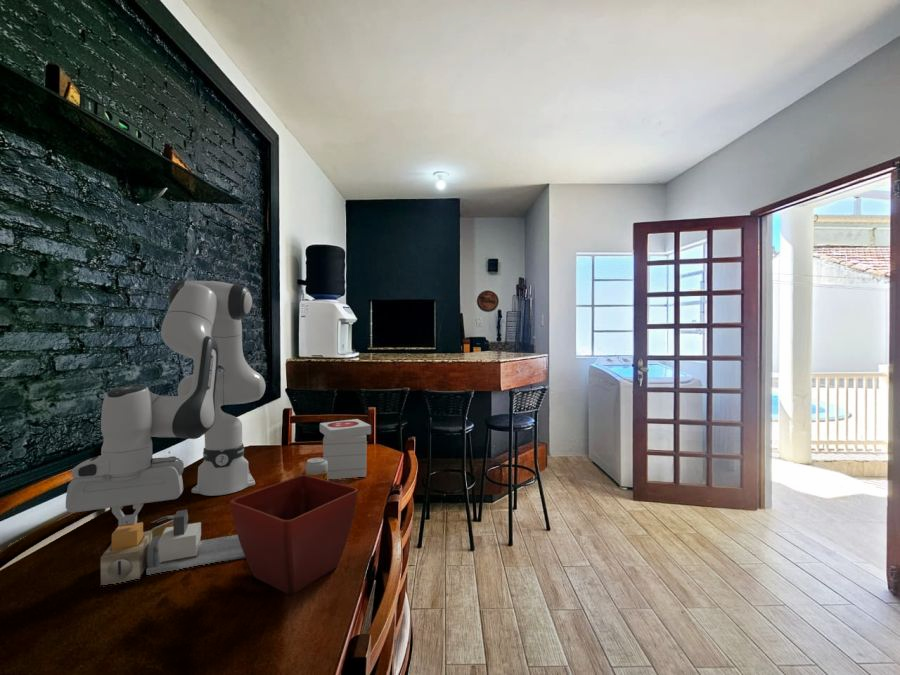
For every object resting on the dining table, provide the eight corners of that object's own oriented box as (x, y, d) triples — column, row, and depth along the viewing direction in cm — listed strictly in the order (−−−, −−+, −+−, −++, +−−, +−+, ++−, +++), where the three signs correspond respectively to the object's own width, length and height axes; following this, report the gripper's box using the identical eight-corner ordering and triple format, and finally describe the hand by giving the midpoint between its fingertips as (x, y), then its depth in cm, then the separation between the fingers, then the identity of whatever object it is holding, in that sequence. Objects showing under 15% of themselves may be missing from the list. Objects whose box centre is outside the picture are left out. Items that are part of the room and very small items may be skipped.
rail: (156, 557, 97) (156, 533, 97) (274, 537, 106) (273, 515, 106) (146, 576, 89) (146, 550, 89) (274, 552, 99) (273, 528, 99)
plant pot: (286, 612, 77) (286, 520, 77) (227, 580, 87) (227, 500, 87) (360, 564, 93) (360, 488, 93) (303, 542, 104) (303, 474, 104)
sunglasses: (148, 553, 99) (145, 532, 99) (103, 553, 103) (101, 533, 103) (200, 527, 112) (198, 508, 112) (158, 528, 117) (156, 510, 117)
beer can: (321, 516, 118) (321, 463, 118) (301, 515, 119) (301, 462, 119) (331, 508, 124) (331, 457, 124) (313, 506, 125) (312, 456, 125)
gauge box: (117, 562, 95) (117, 536, 95) (152, 556, 97) (152, 530, 97) (99, 588, 85) (99, 558, 85) (138, 581, 87) (138, 552, 87)
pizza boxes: (371, 455, 179) (370, 413, 179) (371, 479, 149) (371, 428, 149) (324, 458, 175) (324, 415, 175) (315, 483, 146) (315, 431, 146)
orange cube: (119, 541, 92) (118, 525, 92) (143, 537, 94) (143, 522, 94) (111, 550, 88) (111, 534, 88) (137, 546, 90) (137, 530, 90)
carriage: (166, 549, 97) (165, 510, 97) (201, 543, 100) (200, 505, 100) (158, 564, 90) (158, 522, 90) (196, 557, 93) (195, 517, 93)
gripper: (186, 451, 98) (186, 511, 98) (75, 462, 90) (75, 527, 90) (180, 459, 92) (181, 522, 92) (61, 471, 84) (62, 540, 84)
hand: (128, 524), depth 91 cm, fingers closed
